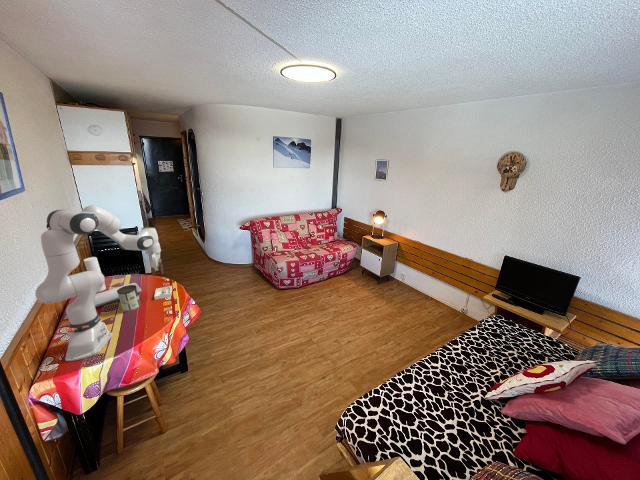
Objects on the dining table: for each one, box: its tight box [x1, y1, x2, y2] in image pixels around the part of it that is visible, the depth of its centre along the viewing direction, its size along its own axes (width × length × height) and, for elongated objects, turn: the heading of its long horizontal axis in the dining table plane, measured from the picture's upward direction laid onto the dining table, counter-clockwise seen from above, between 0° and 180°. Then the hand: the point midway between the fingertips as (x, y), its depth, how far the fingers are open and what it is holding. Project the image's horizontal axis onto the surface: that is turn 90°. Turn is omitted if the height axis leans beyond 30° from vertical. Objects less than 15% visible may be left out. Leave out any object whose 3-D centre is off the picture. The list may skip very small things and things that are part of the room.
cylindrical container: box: [83, 256, 107, 293], centre depth 189 cm, size 7×7×25 cm
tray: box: [94, 282, 142, 308], centre depth 182 cm, size 17×31×4 cm, turn 137°
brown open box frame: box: [150, 257, 165, 277], centre depth 179 cm, size 6×6×10 cm
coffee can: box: [117, 284, 142, 313], centre depth 169 cm, size 10×10×14 cm
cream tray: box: [153, 285, 173, 301], centre depth 186 cm, size 12×10×3 cm
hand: (157, 268), depth 179 cm, fingers closed on brown open box frame, 5 cm apart
